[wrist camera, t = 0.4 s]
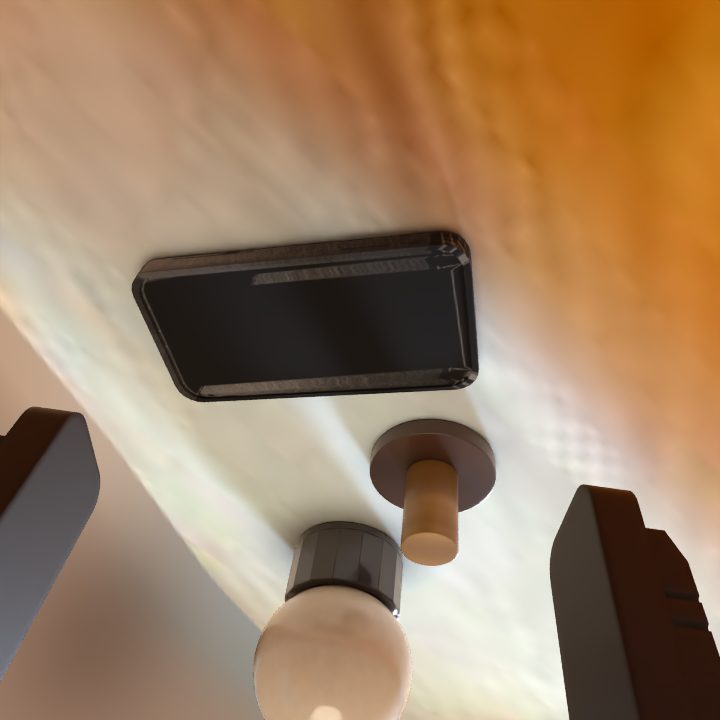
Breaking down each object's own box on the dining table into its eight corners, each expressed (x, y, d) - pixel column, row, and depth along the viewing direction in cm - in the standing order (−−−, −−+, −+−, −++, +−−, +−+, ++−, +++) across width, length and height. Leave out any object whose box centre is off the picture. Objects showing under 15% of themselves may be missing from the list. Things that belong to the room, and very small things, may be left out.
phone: (480, 388, 30) (183, 403, 33) (479, 372, 31) (190, 388, 34) (469, 239, 25) (121, 272, 28) (468, 225, 26) (131, 259, 29)
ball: (271, 543, 37) (229, 706, 30) (425, 565, 37) (418, 735, 30) (273, 620, 43) (238, 771, 36) (406, 639, 43) (397, 796, 36)
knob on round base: (377, 411, 33) (365, 496, 29) (507, 428, 33) (515, 517, 29) (366, 492, 38) (355, 577, 34) (481, 508, 38) (484, 596, 33)
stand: (297, 514, 40) (284, 571, 37) (408, 530, 40) (405, 588, 37) (296, 575, 45) (284, 630, 41) (396, 589, 44) (392, 646, 41)
